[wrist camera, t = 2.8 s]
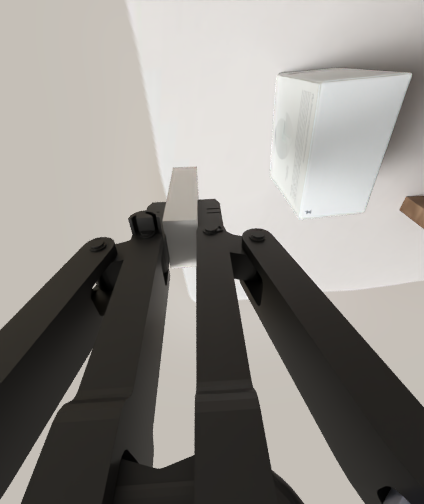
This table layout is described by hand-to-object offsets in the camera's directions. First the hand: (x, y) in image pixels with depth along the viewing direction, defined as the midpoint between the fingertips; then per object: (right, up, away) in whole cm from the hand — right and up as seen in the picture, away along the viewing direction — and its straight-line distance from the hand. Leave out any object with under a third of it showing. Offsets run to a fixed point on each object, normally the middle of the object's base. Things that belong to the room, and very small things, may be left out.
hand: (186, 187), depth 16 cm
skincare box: (+11, +9, +11) cm, 18 cm away
